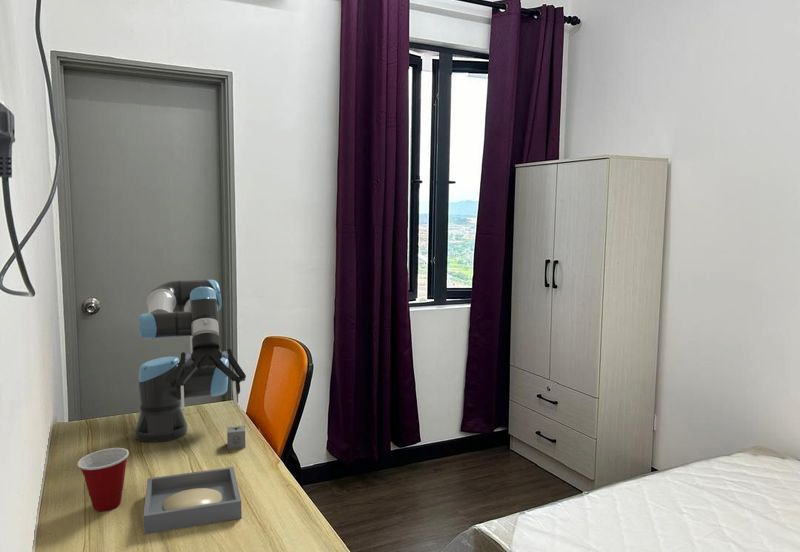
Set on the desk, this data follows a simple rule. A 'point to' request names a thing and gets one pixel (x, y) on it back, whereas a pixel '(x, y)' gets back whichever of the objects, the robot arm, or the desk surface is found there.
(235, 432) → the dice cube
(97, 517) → the desk surface
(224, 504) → the grey square tray
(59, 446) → the desk surface
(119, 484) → the plastic cup
